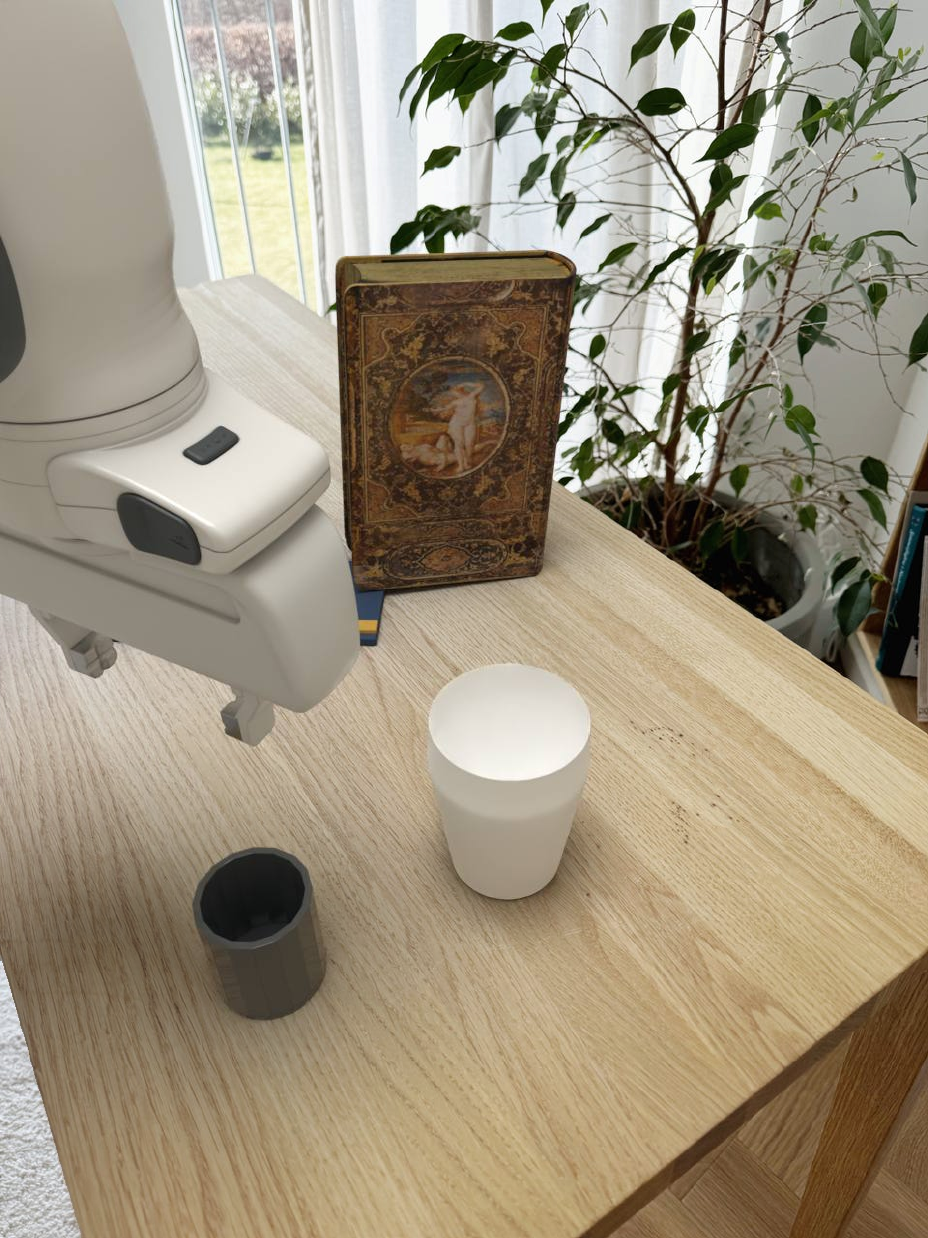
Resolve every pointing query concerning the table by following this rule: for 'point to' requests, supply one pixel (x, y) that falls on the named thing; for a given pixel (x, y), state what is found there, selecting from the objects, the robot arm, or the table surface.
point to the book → (450, 411)
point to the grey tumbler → (261, 932)
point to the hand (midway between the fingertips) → (170, 698)
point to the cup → (508, 774)
